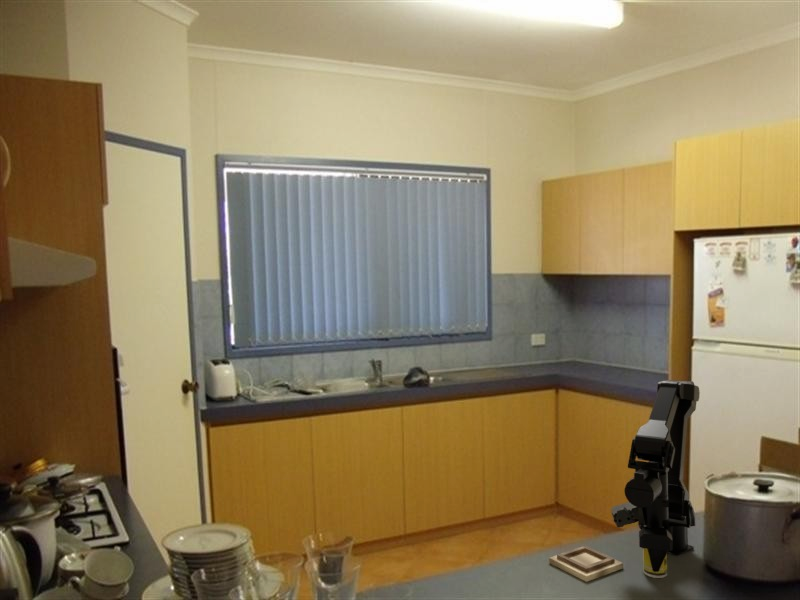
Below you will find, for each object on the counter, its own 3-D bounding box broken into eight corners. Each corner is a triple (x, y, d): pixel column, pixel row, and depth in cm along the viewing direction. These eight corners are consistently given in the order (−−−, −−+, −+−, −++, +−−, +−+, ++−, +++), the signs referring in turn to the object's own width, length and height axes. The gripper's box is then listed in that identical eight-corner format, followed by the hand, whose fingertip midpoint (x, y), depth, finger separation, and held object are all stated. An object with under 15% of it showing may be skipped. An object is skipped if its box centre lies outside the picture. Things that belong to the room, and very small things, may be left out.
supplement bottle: (669, 579, 135) (668, 539, 135) (645, 578, 136) (644, 538, 136) (664, 569, 140) (663, 530, 140) (641, 568, 141) (640, 529, 141)
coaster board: (584, 551, 151) (584, 542, 150) (622, 568, 141) (622, 559, 141) (549, 563, 145) (548, 554, 145) (586, 581, 135) (586, 572, 135)
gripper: (614, 477, 149) (615, 544, 150) (612, 504, 131) (614, 581, 132) (666, 480, 145) (668, 549, 146) (672, 509, 128) (673, 588, 128)
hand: (655, 566), depth 138 cm, fingers closed on supplement bottle, 5 cm apart
